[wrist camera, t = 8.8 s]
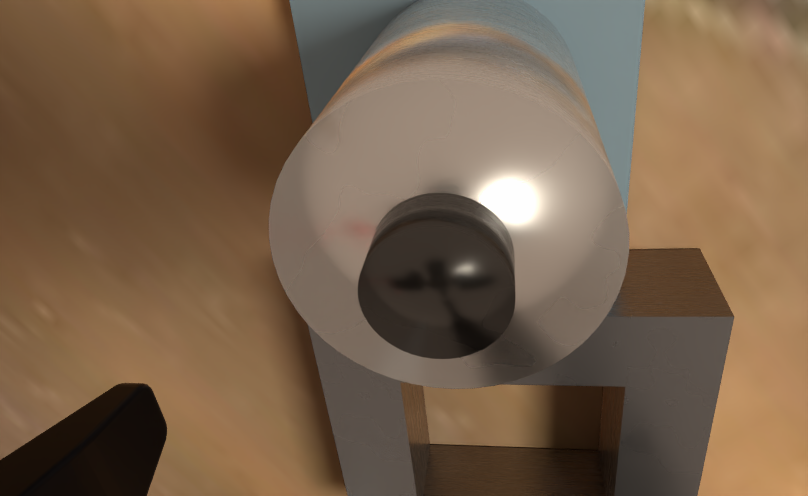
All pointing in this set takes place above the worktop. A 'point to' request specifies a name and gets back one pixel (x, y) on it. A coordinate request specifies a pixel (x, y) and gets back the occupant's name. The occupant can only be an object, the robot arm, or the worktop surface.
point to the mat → (560, 3)
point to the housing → (586, 366)
